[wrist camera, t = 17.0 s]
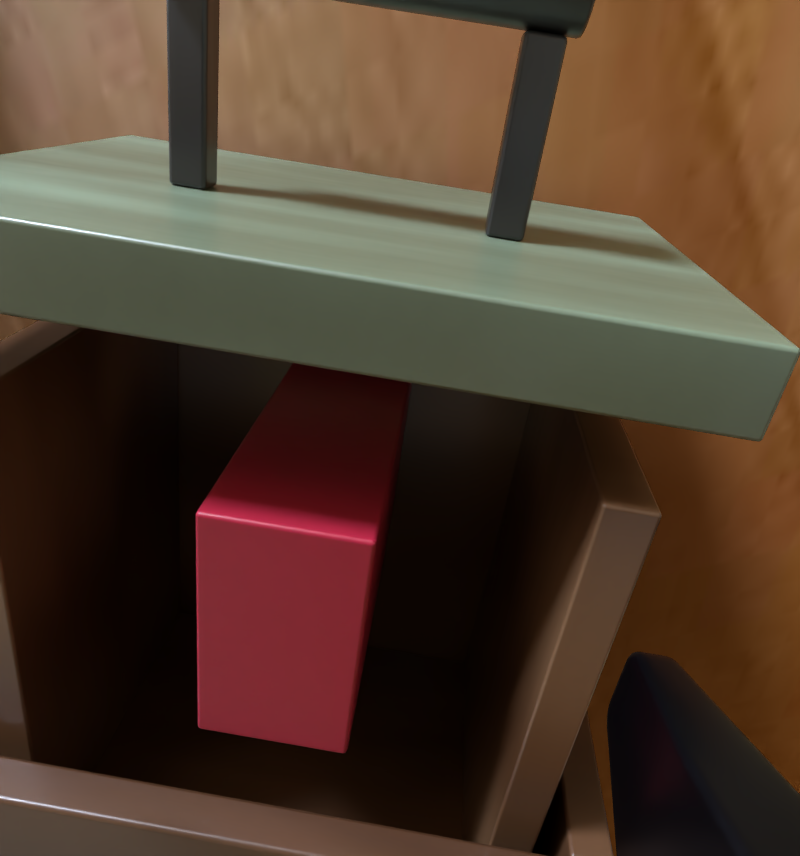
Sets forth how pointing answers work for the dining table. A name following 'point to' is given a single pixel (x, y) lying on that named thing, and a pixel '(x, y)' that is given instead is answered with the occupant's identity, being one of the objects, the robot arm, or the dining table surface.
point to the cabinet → (253, 819)
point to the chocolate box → (297, 559)
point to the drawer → (421, 451)
